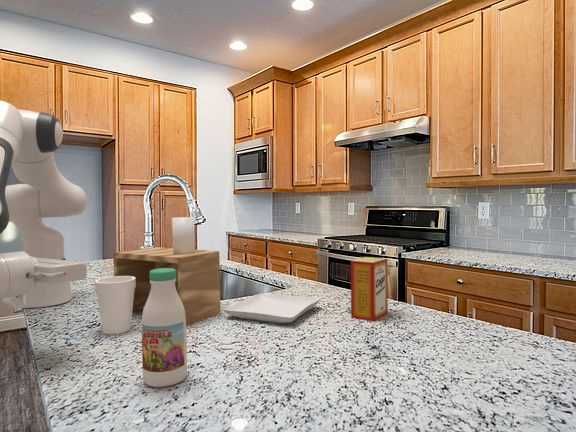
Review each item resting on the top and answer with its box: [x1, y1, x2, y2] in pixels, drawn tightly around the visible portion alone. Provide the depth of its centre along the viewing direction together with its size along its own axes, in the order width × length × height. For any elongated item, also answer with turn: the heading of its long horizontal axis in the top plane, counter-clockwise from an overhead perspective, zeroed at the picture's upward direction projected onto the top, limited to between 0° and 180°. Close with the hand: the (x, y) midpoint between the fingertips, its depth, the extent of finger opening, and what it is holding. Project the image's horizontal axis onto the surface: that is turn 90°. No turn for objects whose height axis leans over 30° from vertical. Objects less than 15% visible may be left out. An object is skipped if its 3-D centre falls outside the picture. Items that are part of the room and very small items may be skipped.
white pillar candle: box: [171, 216, 196, 254], centre depth 109 cm, size 6×6×10 cm
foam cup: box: [94, 275, 136, 335], centre depth 99 cm, size 10×9×13 cm
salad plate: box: [224, 293, 322, 324], centre depth 112 cm, size 21×21×3 cm
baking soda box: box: [350, 256, 389, 323], centre depth 108 cm, size 10×6×16 cm
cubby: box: [112, 246, 222, 327], centre depth 113 cm, size 27×15×18 cm, turn 61°
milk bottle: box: [141, 268, 188, 388], centre depth 71 cm, size 8×8×20 cm
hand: (80, 264), depth 90 cm, fingers closed
